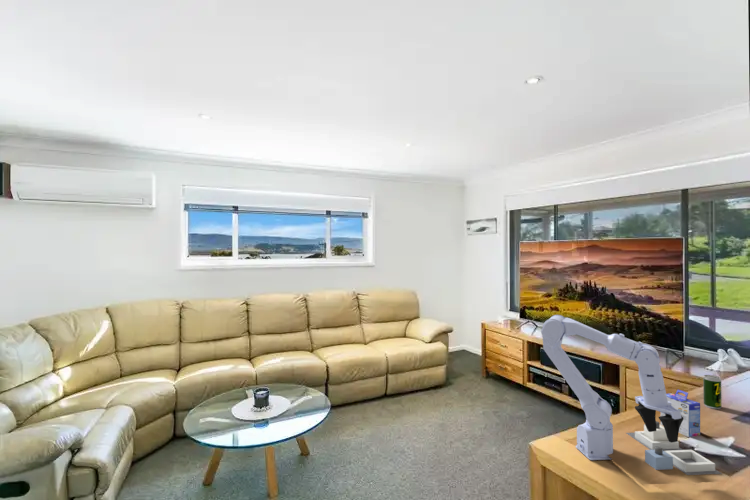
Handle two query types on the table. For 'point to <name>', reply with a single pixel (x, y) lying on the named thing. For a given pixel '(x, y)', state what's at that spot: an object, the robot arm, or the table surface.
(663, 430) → the cream plug
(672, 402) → the ink cartridge box
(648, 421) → the robot arm
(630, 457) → the table surface
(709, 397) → the beer can
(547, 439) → the table surface
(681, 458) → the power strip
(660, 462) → the blue plug
